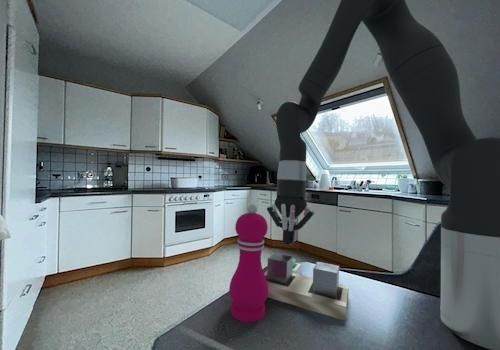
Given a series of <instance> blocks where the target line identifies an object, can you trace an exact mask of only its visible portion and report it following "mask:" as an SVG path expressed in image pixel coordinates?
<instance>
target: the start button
mask: <svg viewBox="0 0 500 350" xmlns="http://www.w3.org/2000/svg"><path fill="white" fill-rule="evenodd" d="M296 263H297V259H296V258H293V267H292V269H294V268H295V267H296Z"/></svg>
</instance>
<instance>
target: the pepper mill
mask: <svg viewBox="0 0 500 350" xmlns="http://www.w3.org/2000/svg"><path fill="white" fill-rule="evenodd" d="M257 211H258V208H257V206H256V205H255V204H249V205H248V207H247V213H243V214H241V215H240V216H238V218H237V219H236V222H235V225H234V227H235V232H236V234H237V236H238V237H239V238H238V239H237V245H236V246H237V248H238V249H239V259H238V264H237V267H236V269H235V271H234V274H233V275H232V277H231V280H230V284H229V289H228V294H229V297H230V299H231V300H232V301H231V304H230V315H231V316H232V317H233V318H234V319H236V320H238V321H240V322H243V323H253V322H257V321H260V320H261V319H263V318H264V317H265V314H266V304H265V302H266V300H267V299H268V298H269V297H268V283H267V279H266V277H265V274H264V273H265V272H264V269H263V266H262V261H261V260H262V250H264V249H265V240H264V237H265V236H266V235H267V233H268V227H269V226H268V222H267V220H266V218H265V217H264V216H263V215H261V214H259V213H257Z"/></svg>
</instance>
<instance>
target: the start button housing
mask: <svg viewBox="0 0 500 350" xmlns="http://www.w3.org/2000/svg"><path fill="white" fill-rule="evenodd" d="M292 273H294V274H299V275H302V264H301V263H299V262H296V267H295V268H294V269H292Z"/></svg>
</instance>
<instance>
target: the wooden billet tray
mask: <svg viewBox="0 0 500 350" xmlns="http://www.w3.org/2000/svg"><path fill="white" fill-rule="evenodd" d="M264 274H265V277H266V279H267V270H265V272H264ZM267 283H268V297H267V298H270V299H272V300H275V301H278V302H282V303H286V304H290V305H292V306H296V307H299V308H301V309H305V310H308V311H311V312H314V313H319V314H322V315H324V316H328V317H330V318H331V317H332V318H334V319H338V320H342V321H345V322H346V321H347V320H346V319H347V315H348V314H347V313H348V312H347V311H348V304H349V288H350V287H349V285H344V284H341V283H339V289H338V300H335V299H331V298H327V297H323V296H320V295H316V294H313V277H311V276H306V275H302V274H300V275H299V274H294V273H292V282H291V284H290V285H289V286H288V287H286V286H282V285H279V284H275V283H271V282H268V281H267Z"/></svg>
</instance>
